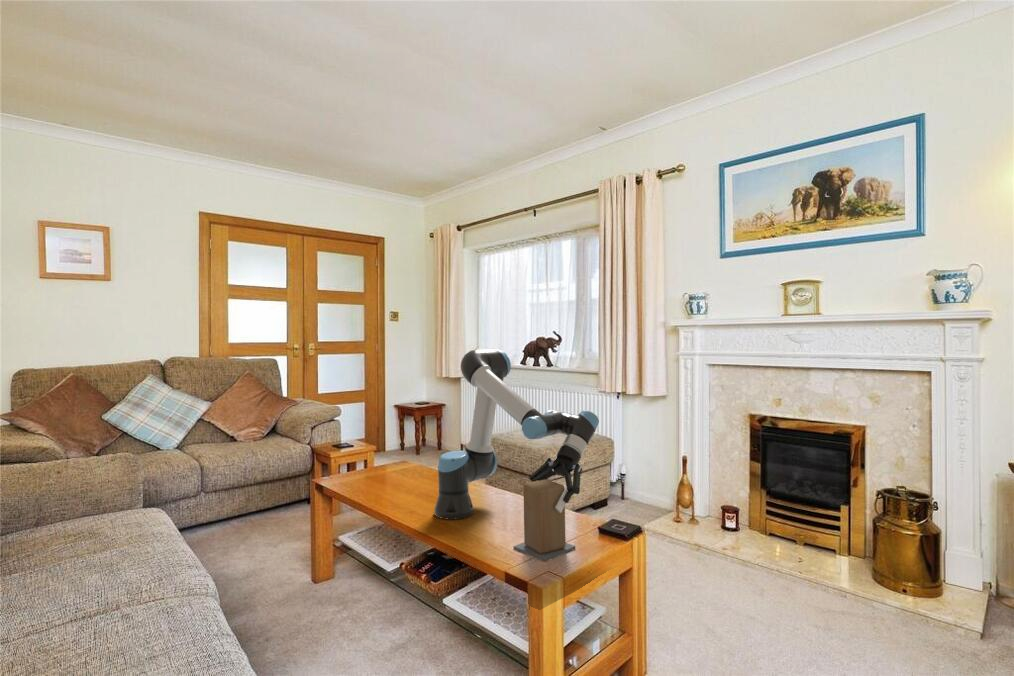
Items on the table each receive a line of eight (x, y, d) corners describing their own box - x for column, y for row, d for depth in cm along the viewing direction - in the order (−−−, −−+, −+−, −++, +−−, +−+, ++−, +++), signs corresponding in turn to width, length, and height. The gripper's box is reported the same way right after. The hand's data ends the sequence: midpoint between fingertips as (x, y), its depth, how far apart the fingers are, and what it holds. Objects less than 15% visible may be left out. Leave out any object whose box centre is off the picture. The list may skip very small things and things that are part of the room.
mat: (513, 548, 163) (513, 546, 163) (543, 537, 173) (543, 534, 173) (545, 561, 153) (545, 559, 153) (575, 548, 162) (575, 546, 162)
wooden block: (523, 545, 164) (522, 482, 164) (548, 538, 169) (547, 478, 169) (540, 555, 155) (539, 489, 156) (566, 548, 160) (565, 484, 161)
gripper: (606, 463, 165) (578, 521, 155) (549, 452, 183) (520, 503, 173) (596, 449, 162) (566, 507, 151) (539, 439, 180) (508, 491, 169)
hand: (541, 505), depth 162 cm, fingers open, 13 cm apart
